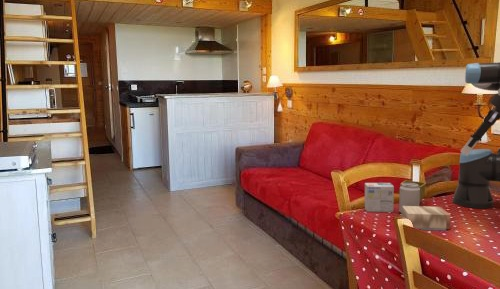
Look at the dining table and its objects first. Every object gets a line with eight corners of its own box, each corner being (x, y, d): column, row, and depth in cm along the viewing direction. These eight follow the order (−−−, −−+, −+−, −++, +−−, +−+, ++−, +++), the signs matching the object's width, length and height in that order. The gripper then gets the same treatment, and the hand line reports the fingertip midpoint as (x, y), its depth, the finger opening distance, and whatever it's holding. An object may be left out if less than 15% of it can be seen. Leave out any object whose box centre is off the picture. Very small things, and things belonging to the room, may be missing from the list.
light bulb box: (389, 207, 169) (390, 182, 168) (393, 212, 162) (394, 186, 161) (363, 207, 170) (364, 182, 169) (366, 212, 163) (367, 185, 162)
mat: (435, 219, 153) (435, 218, 153) (446, 230, 140) (446, 230, 140) (399, 218, 155) (399, 217, 155) (407, 229, 142) (407, 228, 142)
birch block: (441, 206, 151) (402, 205, 153) (450, 215, 141) (408, 213, 143) (440, 219, 151) (401, 218, 153) (449, 228, 142) (407, 227, 144)
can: (395, 211, 164) (396, 182, 162) (413, 210, 165) (414, 181, 163) (404, 216, 157) (405, 186, 155) (422, 216, 157) (424, 185, 156)
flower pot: (404, 199, 181) (405, 179, 180) (425, 202, 176) (426, 182, 174) (399, 204, 174) (399, 183, 172) (420, 207, 169) (421, 186, 167)
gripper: (518, 105, 132) (472, 162, 142) (517, 102, 143) (474, 155, 153) (496, 93, 135) (452, 150, 145) (496, 91, 146) (456, 144, 156)
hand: (463, 153), depth 149 cm, fingers closed
